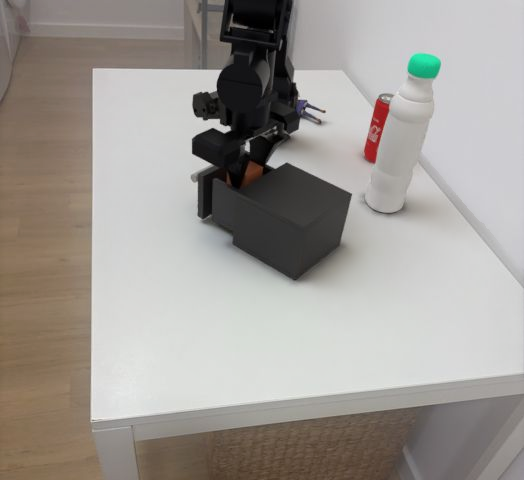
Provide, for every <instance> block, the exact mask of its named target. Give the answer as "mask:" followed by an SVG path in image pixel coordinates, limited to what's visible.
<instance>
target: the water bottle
mask: <svg viewBox="0 0 524 480" xmlns="http://www.w3.org/2000/svg"><path fill="white" fill-rule="evenodd" d="M441 66H442V61H441V59H440V58H439V57H438V56H436V55H433V54H430V53H426V52H425V53H424V52H417V53H414V54H412V55H411V56H410V58H409V61H408V63H407V71H406V75H407V78H406V79H405V82H403V83H402V84H401V85H400V87H399V89H398V90H397V91H396V92H395V93H394V96H393V98H392V99H391V102H390V105H389V113H388V116H387V119H386V122H385V125H384V128H383V132H382V135H381V139H380V143H379V147H378V152H377V157H376V163H374V165H373V167H372V170H371V173H370V180H369V183H368V185H367V188H366V192H365V196H364V199H365V202H366V204H367V205H368V206H369V208H371V209H373V210H375V211H376V212H380V213H385V214H391V213H396V212H398V211H400V210H401V209H402V208H403V206H404V204H405V201H406V198H407V193H408V189H409V187H410V186H411V182H412V179H413V175H414V170H415V168H416V165H417V163H418V160H419V157H420V154H421V151H422V149H423V147H424V143H425V139H426V136H427V133H428V130H429V129H428V128H429V124H430V120H431V119H432V118H433V116H434V114H435V101H434V100H435V99H434V90H433V82H434V81H435V80H436V79H437V77H438V76H439V73H440V70H441Z"/></svg>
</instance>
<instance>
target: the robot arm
mask: <svg viewBox="0 0 524 480" xmlns="http://www.w3.org/2000/svg"><path fill="white" fill-rule="evenodd" d="M293 9H294V0H224V3H223V11H222V19H221V25H220V32H219V42H221V43H227V44H230V45H231V47H230V55H229V57H228V59H227V60H226V61H225V64H224V66H223V67H222V69H221V70H220V72H219V74H218V77H217V80H216V86H215V87H216V90H215V91H211V92H209V91H204V92H203V91H199V92H196V93H194V94H192V103H191V107H192V111H193V115H194V116H195V118H200V119H201V118H202V121H204V122H207V121H208V120H219V124H220V125H221V126H223V127H230V128H229V129H230V130H228V131H225V132H223V131H221V130H218V129H217V128H215V127H211V128H209V129H206V130H204V131H202V132H199V133H197V134H195V135H194V136H193V137H192V138H191V154H192V155H193V156H195V157H197V158H199V159H201V160H202V161H205V162H206V163H209V164H210V165H212V164H213V165H214V166H216V167H218V168H225V167H226V170H227V173H228V176H229V179H230V182H231V185H232V186H233V187H235V188H236V189H239V188H240V186H241V184H242V181H243V178H244V176H245V173H246V170H247V167H248V164H249V162H250V161H252V162H254V163H256V164H258V165H260V166H262V167H263V168H264V167H265V165H266V164H267V165H268V163H269V161H270V159H271V158H272V156H273V155H274V153H275V152H276V150H277V149H278V147H279V146H280V145H281V144H282V143H284V142H286V141H288V140H290V139H291V135H290V134H293V133H295V132H296V131H298V130H300V122H301V116H300V115H299V114H298V112H297V104H298V100H299V97H298V92H299V90H298V87H297V82H295V81H294V79H295V67H294V65H293V63H292V61H291V58H290V57H289V47H290V38H291V29H292V28H291V27H292V19H293V18H292V17H293V11H294V10H293ZM231 23H232V24H233V25H235V26H230V25H231ZM237 26H239V27H237ZM240 26H241V27H240ZM243 27H246V28H243ZM247 143H249V152H250V155H249V154H247V153H245V150H246V146H247Z"/></svg>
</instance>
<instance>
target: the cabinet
mask: <svg viewBox="0 0 524 480" xmlns="http://www.w3.org/2000/svg"><path fill="white" fill-rule="evenodd" d="M352 197H353V193H351V192H350V191H347V190H346V189H343V188H341V187H339V186H337V185H335V184H333V183H331V182H328V181H327V180H325V179H322V178H320V177H318V176H316V175H314V174H312V173H310V172H308V171H306V170H304V169H302V168H299V167H297V166H295V165H294V164H291V163H289V162H285V163H283V164H281V165H279V166H277V167H276V168H275V169H274V170H272V171H270V172H269V173H267V174H265V175H263V176H262V177H260V178H258V179H256V180H254V181H253V182H251V183H249V184H247V185H245V186H244V187H242V188H240V189H238V190H237V191H236V192H235V209H234V225H233V231H232V245H234V247H237V248H238V249H240V250H242V251H244V252H245V253H246V254H249V255H251V256H252V257H254V258H256V260H257V259H258V261H261V262H262V263H264V264H266V265H267V266H269V267H271V268H273V269H274V270H276V271H278V272H280V273H281V274H283V275H285V276H287V278H290V279H292V280H293V281H296V280H298V279H299V278H300V277H301V276H302V275H305V273H306V272H308V271H309V270H310V269H311V268H313V267H314V266H315V265H317V264H318V263H319V262H320V261H321V260H323V259H325V257H327V256H328V255H330V254H331V253H332V252H333V251H334V250H336V249H337V248H338V247H340V246H341V242H342V238H343V233H344V229H345V225H346V222H347V216H348V213H349V207H350V205H351V201H352Z"/></svg>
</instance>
